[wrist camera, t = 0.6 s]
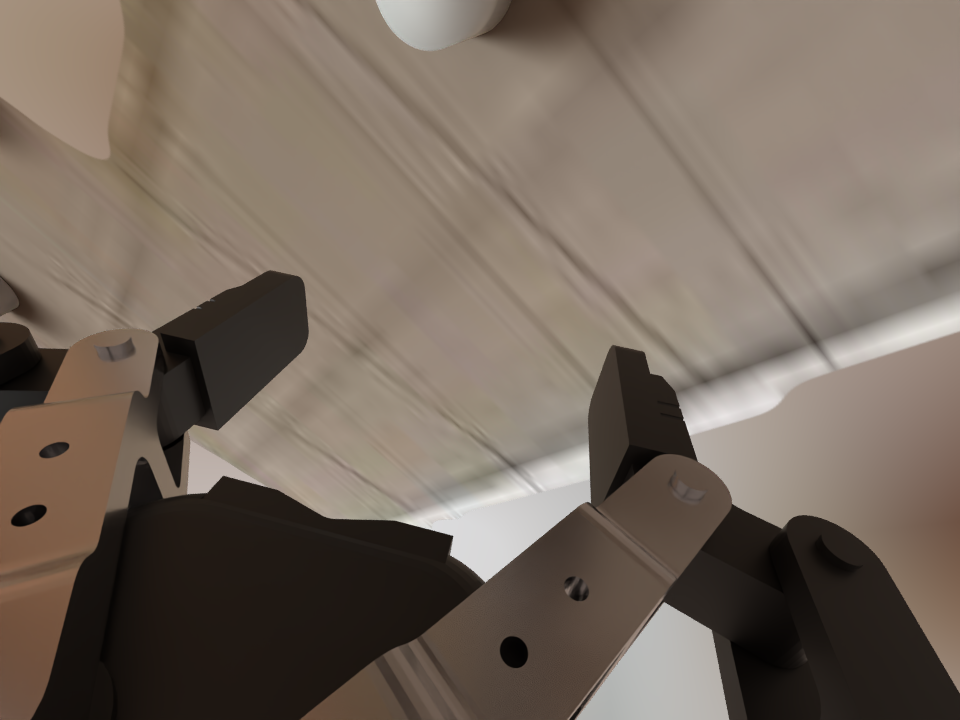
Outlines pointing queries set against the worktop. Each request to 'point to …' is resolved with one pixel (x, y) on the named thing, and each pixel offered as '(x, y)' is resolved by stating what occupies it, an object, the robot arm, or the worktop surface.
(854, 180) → the worktop surface
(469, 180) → the worktop surface
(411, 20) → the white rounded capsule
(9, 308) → the coffee mug
